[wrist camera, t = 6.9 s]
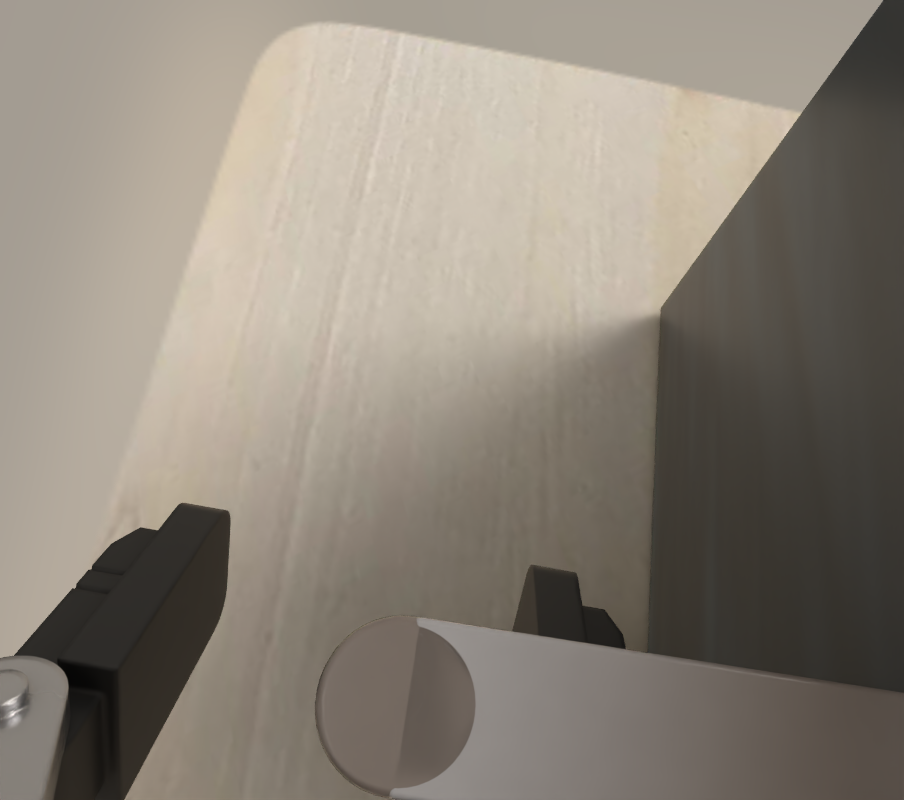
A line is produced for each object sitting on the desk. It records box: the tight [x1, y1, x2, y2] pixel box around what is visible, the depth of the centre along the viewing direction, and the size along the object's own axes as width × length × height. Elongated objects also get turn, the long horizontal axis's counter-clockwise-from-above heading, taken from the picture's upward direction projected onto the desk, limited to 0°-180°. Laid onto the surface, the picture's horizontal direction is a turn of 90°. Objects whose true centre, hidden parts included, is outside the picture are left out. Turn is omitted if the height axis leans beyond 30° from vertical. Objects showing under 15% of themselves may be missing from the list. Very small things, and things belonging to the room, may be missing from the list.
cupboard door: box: [315, 0, 904, 800], centre depth 11 cm, size 8×14×16 cm, turn 172°
